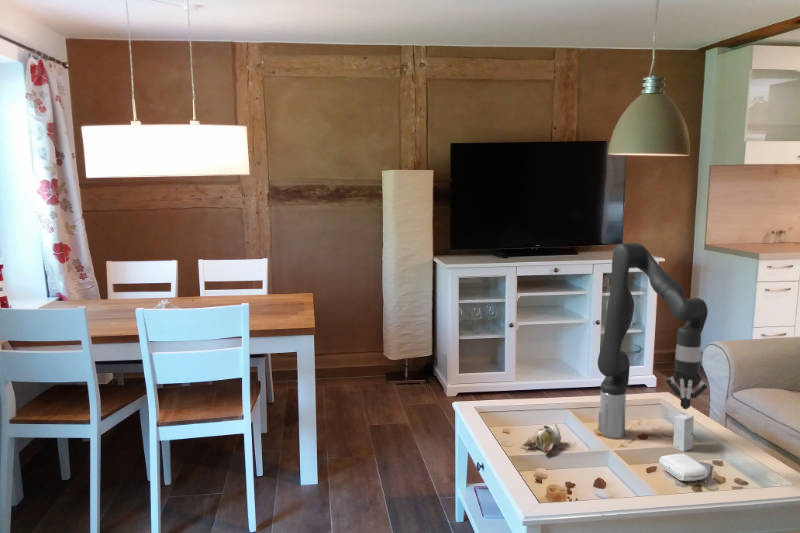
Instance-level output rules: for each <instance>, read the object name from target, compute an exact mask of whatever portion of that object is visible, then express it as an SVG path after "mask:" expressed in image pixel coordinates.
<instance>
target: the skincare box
mask: <svg viewBox="0 0 800 533" xmlns="http://www.w3.org/2000/svg"><path fill="white" fill-rule="evenodd" d="M673 417H674V418H673V442H672V443H673V445H672V446H673V449H676V450H678V451H681V452H686V451H689V450H691V449H693V447H694V419H695V418H694V417H695V416H694V415H692V414H688V413H684V412H683V413H679V414H676V415H674V416H673Z"/></svg>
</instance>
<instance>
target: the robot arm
mask: <svg viewBox="0 0 800 533" xmlns="http://www.w3.org/2000/svg"><path fill="white" fill-rule="evenodd" d="M611 260H612V261H611V276H610V277H611V278H610V280H611V281H610V288H609V289H610V290H609V296H608V297H609V298H608V303H607V308H606V318H605V324H604V330H603V331H604V332H603V338H602V342H601V347H600V348H599V349H600V351H599V354H598V358H597V367H598V370H599V372H600V373H601V374H602V375H603V376H605V377H604V379H603V380H602V382H601V384H600V403H599V404H600V406H599V410H598V426H597V427H598V430H597V432H598V431H600V432H602V434H604V435H605V436H606V437H605V436H604V437H605V438H608V437H609V438H608V439H614V438H618V439H623V438H624V437H625V436H626V434H625V433H626V408H627V407H626V406H627V405H626V403H627V402H626V399H627V388H628V385H629V380H630V368H631V367H630V365H631V364H630V359H629V357H628V355H627V353H626V352H625V351H623V350H621V349H622V343H623V341H624V339H625V337H626V334H627V333H628V331H629V328H630V326H631V324H632V321H633V317H634V309H635V301H634V298H633V294H632V292H631V290H630V287H629V283H628V279H629V271H630V269H638V270H640V271H642V273H644V274H646V276H647V278H648V280H649V284H650V286H651V288H652V290H653V292H655V293H656V294H657V295H658V296H659V297H660V298H661V299H663V301H664V302H665V303H666V304H667V307H668V308H669V310H670V311H671V313H672V315H673V316H674V317H675V318H677V319H679V320H680V321H684V322H685V324H684V325H682V326H680V327H679V328H678V329H677V333H676V334H677V335H676V336H677V337H676V348H675V358H674V360H675V362H674V372H673V374H672V376H670V377H667V378H666V380H665V382H666V384H667V385H668V386H669V388H670V389H671V390H672V392H673V393H674V395H675V396H679V397H680V407H682V409H683V410H688V409H690V407H691V403H692V402H691V400H692V399H696V398H697V397H699V396H700V395H701V394H702V393H703V392H704V391H705V390H706V389H707V388H708V386H709V385H708V384H709V383H707V382H704V381H703V380H702V377H701V359H702V350H701V342H702V333H703V330H704V326H705V324H706V320H707V318H708V311H709V310H708V306H707V303H706V302H705V300H703V299H702V298H699V297H696V298H695V297H693V298H684V297H685V295H686V292H685V289H684V288H683V287H682V286H681V285H680V284H679V283H678V282H676V281H675V280H674V279H673V278H672V277H671V276H670V275H669V274H668V273H667V272H666V271H664V269H663V268H662V267H661V266H660V265H659V263H658V262H657V261H656V260H655V258H654V257H653V255H651V253H650V252H649V251H648V249H647V248H646V247H645V246H644V245H643V244H640V243H638V242H636V243H635V242H634V243H632V242H628V243H626V242H625V243H624V242H623V243H618V244H617V245H616V246H615V247H614V249H613V253H612V259H611ZM675 382H676V383H675ZM676 384H677V385H676ZM697 385H698V389H696V390H695V391H694V392H693V389H694V388H696V387H697ZM678 387H679V388H680V390H679V388H678Z"/></svg>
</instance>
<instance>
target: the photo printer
mask: <svg viewBox="0 0 800 533" xmlns="http://www.w3.org/2000/svg"><path fill="white" fill-rule="evenodd" d="M658 463H659V465H660V468H662V469H663V470H665V471H666V472H668V473H669V474H671V475H672V476H673V477H675V478H676V479H677V480H679V481H682V482H683V481H684V482H694V481H698V480H700V479H703V478H705V477H707V476H708V471H707V469H706V467H705V466H703V465H701V464H700V463H698V462H697V460H695V459H693V458H692V457H690V456H688V455H687V454H684V453H674V454H667V455H661V456H660V458H659V460H658Z"/></svg>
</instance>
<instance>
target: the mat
mask: <svg viewBox="0 0 800 533" xmlns="http://www.w3.org/2000/svg"><path fill="white" fill-rule="evenodd" d="M696 461H697V460H696ZM697 462H698V463H700V464H701V465H703V466H705V467H706V469H707V471H708V476H707V477H705V478H703V479H700V481H699V482H702V481H708V482H709V479H710V475H711V468H712V463H710V462H709V463H708V462H703V461H700V460H699V461H697Z"/></svg>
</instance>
